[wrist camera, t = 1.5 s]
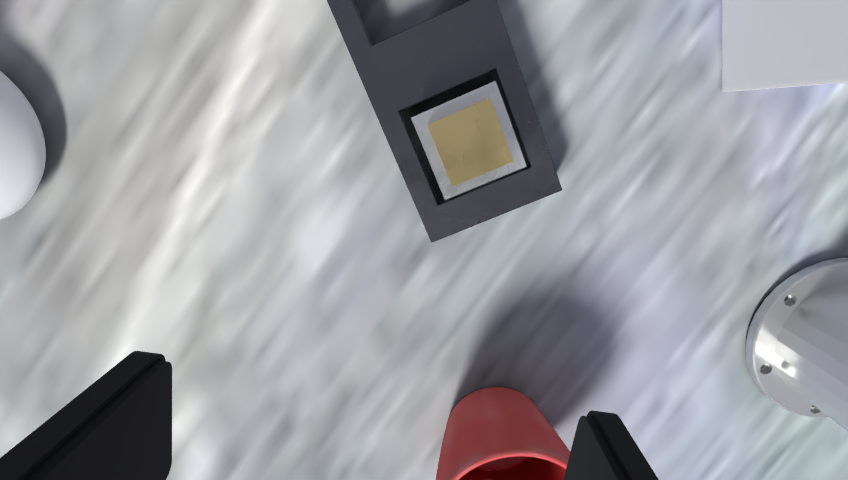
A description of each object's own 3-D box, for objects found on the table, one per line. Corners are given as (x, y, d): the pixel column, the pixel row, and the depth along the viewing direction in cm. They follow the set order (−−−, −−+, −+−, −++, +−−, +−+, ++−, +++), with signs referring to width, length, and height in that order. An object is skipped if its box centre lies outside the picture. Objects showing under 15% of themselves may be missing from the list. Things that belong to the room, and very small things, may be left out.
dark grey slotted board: (435, -143, 28) (436, -172, 25) (550, 183, 33) (562, 189, 30) (300, -75, 29) (285, -96, 26) (431, 231, 34) (431, 242, 31)
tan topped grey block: (483, 86, 31) (498, 79, 25) (509, 157, 32) (530, 168, 26) (414, 117, 32) (410, 117, 25) (442, 184, 33) (445, 203, 26)
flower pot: (584, 390, 37) (636, 484, 28) (529, 498, 40) (560, 617, 30) (457, 348, 36) (467, 430, 27) (410, 461, 39) (404, 572, 30)
